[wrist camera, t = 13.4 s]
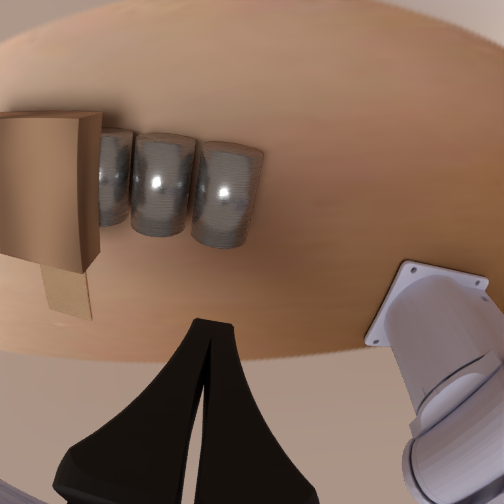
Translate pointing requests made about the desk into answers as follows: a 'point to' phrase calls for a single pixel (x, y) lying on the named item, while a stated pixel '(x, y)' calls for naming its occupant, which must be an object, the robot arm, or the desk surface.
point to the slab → (50, 187)
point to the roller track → (165, 198)
